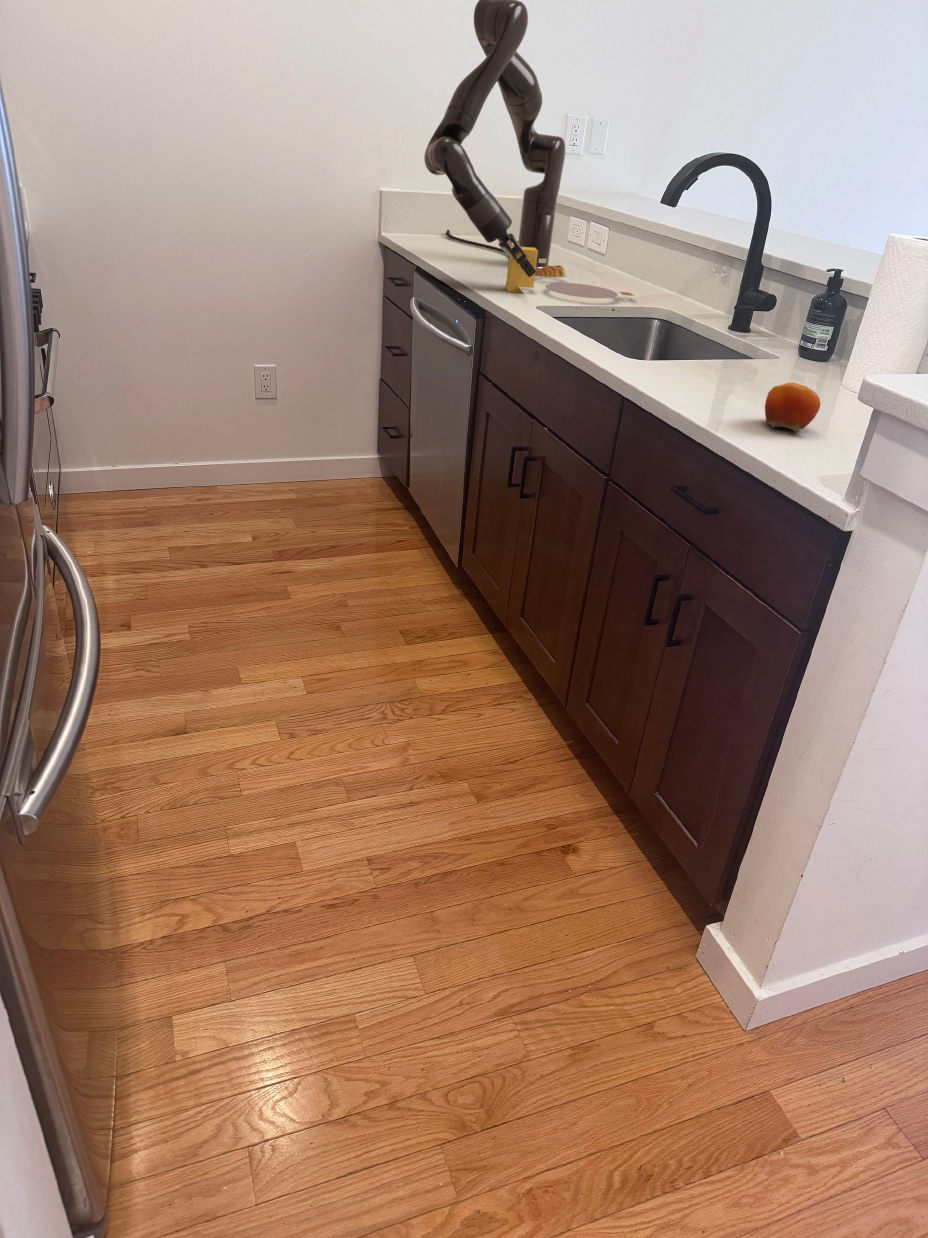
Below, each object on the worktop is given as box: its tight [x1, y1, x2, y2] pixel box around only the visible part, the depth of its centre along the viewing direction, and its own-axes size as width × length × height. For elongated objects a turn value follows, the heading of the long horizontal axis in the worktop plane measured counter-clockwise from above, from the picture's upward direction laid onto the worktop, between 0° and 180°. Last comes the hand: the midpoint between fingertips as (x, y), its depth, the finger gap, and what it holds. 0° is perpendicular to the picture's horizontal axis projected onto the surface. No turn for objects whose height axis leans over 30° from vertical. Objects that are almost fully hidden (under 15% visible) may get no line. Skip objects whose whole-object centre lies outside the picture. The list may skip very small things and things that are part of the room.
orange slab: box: [619, 291, 635, 297], centre depth 220 cm, size 4×3×2 cm
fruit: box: [764, 382, 821, 436], centre depth 136 cm, size 8×8×8 cm
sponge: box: [505, 246, 538, 294], centre depth 214 cm, size 4×6×10 cm
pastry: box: [535, 264, 567, 278], centre depth 233 cm, size 9×7×4 cm
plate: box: [545, 282, 619, 299], centre depth 218 cm, size 18×18×2 cm
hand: (529, 271), depth 215 cm, fingers open, 8 cm apart
